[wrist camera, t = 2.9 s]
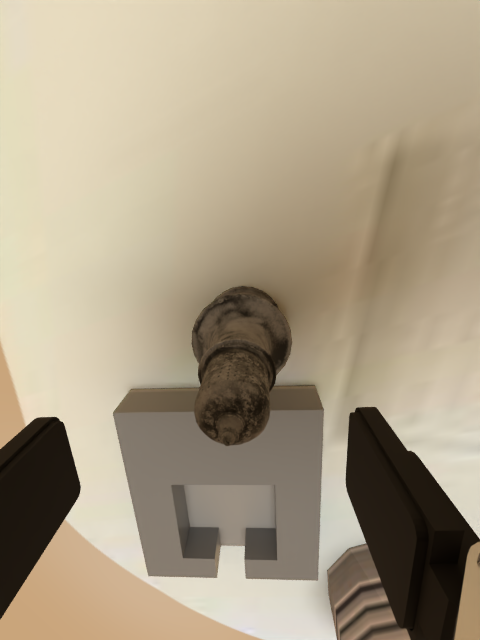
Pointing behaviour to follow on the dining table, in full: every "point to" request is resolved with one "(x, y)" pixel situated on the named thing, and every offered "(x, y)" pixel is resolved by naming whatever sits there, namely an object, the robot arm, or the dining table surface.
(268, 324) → the dark chess piece
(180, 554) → the plate
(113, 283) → the dining table surface
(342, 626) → the can
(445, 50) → the dining table surface
